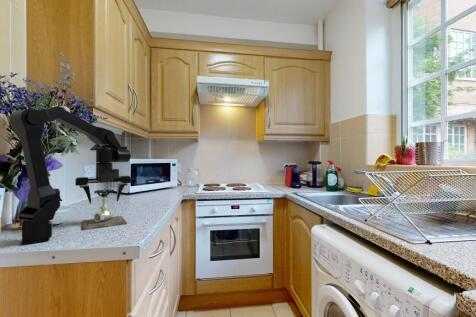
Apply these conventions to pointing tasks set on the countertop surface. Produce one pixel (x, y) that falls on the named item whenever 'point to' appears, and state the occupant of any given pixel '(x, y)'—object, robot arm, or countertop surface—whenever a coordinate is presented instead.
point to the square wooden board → (103, 223)
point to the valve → (104, 207)
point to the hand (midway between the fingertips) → (104, 202)
